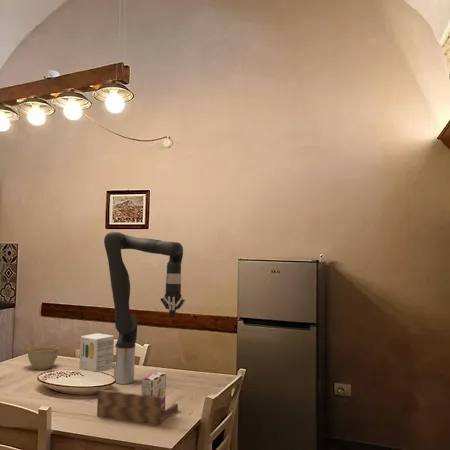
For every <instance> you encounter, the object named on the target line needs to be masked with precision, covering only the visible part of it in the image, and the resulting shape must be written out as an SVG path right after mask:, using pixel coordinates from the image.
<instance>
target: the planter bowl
mask: <svg viewBox="0 0 450 450" xmlns="http://www.w3.org/2000/svg"><path fill="white" fill-rule="evenodd" d="M59 350H60V347H59V346H57V345H54V344H53V345H52V344H51V345H50V344H48V345H47V344H42V345H41V344H40V345H34V346H29V347H28V348H27V358H28V361H29V364H30V365H31V366H32V369H34V370H40V371H43V370H49V369H52V367H53V364H54V363H55V362H56V361H57V358H58V355H59Z"/></svg>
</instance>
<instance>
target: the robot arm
mask: <svg viewBox="0 0 450 450" xmlns="http://www.w3.org/2000/svg"><path fill="white" fill-rule="evenodd" d="M103 239H104V240H103V243H104V248H105V252H106V257H107V261H108V263H107V264H108V269H109V278H110V285H111V292H112V298H113V305H114V324H115V329H116V330H117V332H118V338H117V341H116V343H115V344H116V350H115V362H113V379H114V378H115V379H116V382H115V384H120V385H126V384H127V385H129V384H133V383H134V382H135V363H136V362H135V360H136V359H135V357H136V342H137V337H138V336H137V335H138V320H137V317H136V316H135V315H134V314H131V309H130V296H131V282H130V281H131V279H130V276H129V272H128V269H127V268H126V265H125V263H124V261H123V260H124V259H123V257H122V256H123V255H122V250H134V251H135V250H136V251H140V252H144V253H148V254H155V255H162V256H167V257H168V256H169V257H168V258H169V260H168V262H167V263H166V274H165V275H166V276H165V294H164V296H163V297H162V298H160V302H161V303H162V305H163V306H164V308H165V309H166V310H168V311H169V313H168V317H169V318H170V319H175V317H176V312H177V310H179V309H180V308H182V306H183V305H184V304H185V302H186V299H185V298H183V297H182V294H181V293H182V260H183V255H184V247H183V245H182V243H180V242H177V241H165V240H160V239H154V238H146V237H145V238H144V237H135V236H131V235H128V234H126V233H125V234H124V233H122V232H119V231H110V232H108V233H107V234H106V235H105V236H104V238H103Z"/></svg>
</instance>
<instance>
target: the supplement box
mask: <svg viewBox="0 0 450 450" xmlns="http://www.w3.org/2000/svg"><path fill="white" fill-rule="evenodd" d="M79 344H80V346H79V349H80V351H79V369H82V370H87V371H91V372H99V371H103V370H107V369H112V368H114V351H115V350H114V346H115V335H111V334H106V333H105V334H104V333H99V332H97V333H91V334H86V335H81V336H80V343H79Z"/></svg>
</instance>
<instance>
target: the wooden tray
mask: <svg viewBox="0 0 450 450" xmlns="http://www.w3.org/2000/svg"><path fill="white" fill-rule="evenodd" d="M96 407H97V408H96V409H97V410H96V417H100V416H102V417H103V418H107V417H108V418H109V419H114V418H115V419H114V420H121V421H126V422H132V423H133V422H134V423H141V424H146V425H147V423H148V425H154V426H160V425H161V424H163V423H164V422H165V421H166V420H167V418H168V417H169V418H170V417H171V416H173V413H174V414H175V413H176V412H178V410H179V403H173V404H172V405H171V406H169V407H168V408H167V409H165V411H164V412H163V413H162V414H161V397H154V396H147V395H142V394H138V393H129V392H122V391H116V390H108V389H98V390H97V406H96ZM102 417H101V418H102ZM162 422H163V423H162Z"/></svg>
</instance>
